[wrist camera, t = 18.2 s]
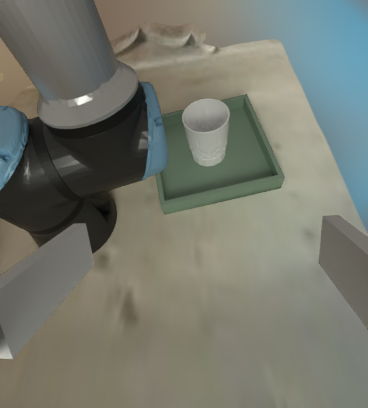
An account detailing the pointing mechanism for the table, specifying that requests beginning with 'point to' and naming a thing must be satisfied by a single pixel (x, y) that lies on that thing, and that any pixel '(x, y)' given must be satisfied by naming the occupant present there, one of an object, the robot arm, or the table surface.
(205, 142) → the white cup
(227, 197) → the green box
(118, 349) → the table surface
